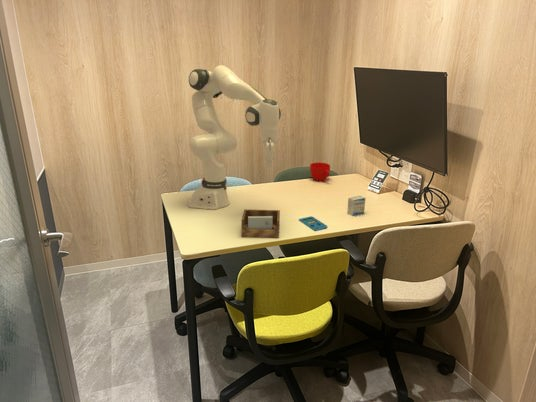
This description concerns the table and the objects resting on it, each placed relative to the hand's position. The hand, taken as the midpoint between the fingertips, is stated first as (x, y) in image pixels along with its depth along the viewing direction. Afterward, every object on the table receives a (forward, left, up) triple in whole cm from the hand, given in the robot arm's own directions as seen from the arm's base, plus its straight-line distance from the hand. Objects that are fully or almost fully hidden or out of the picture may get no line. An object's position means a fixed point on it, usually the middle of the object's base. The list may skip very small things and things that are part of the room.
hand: (268, 164), depth 189 cm
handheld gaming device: (+22, -5, -29) cm, 37 cm away
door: (-3, -19, -27) cm, 34 cm away
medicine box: (+45, +10, -29) cm, 54 cm away
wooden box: (-3, -14, -28) cm, 32 cm away
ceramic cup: (+31, +64, -29) cm, 76 cm away
